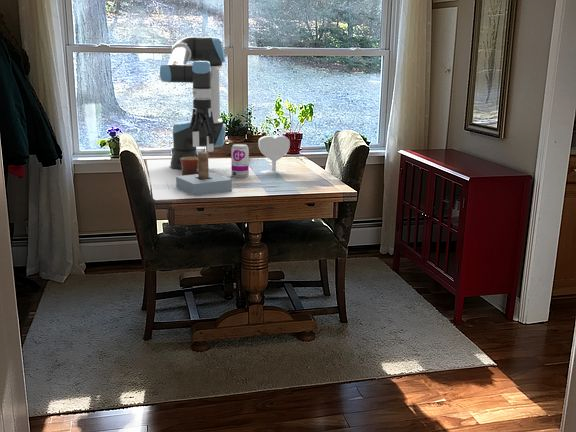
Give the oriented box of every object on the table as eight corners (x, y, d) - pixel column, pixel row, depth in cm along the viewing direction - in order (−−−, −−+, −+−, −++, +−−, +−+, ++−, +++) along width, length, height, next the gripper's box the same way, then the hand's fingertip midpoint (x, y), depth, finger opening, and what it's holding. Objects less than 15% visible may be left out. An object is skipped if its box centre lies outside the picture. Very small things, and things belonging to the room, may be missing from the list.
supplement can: (246, 178, 293) (246, 146, 289) (229, 177, 295) (229, 146, 291) (250, 174, 301) (250, 144, 297) (234, 173, 303) (234, 143, 299)
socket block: (176, 187, 272) (175, 176, 270) (212, 183, 281) (212, 172, 280) (194, 195, 257) (193, 184, 256) (231, 190, 267) (231, 179, 266)
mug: (177, 181, 284) (176, 159, 282) (186, 177, 292) (185, 156, 290) (200, 183, 281) (200, 161, 278) (208, 179, 289) (208, 158, 286)
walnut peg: (196, 188, 270) (196, 152, 266) (205, 187, 272) (205, 151, 268) (201, 190, 266) (200, 154, 262) (210, 189, 269) (209, 153, 264)
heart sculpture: (287, 170, 314) (288, 135, 309) (289, 172, 309) (290, 136, 304) (257, 171, 310) (257, 135, 305) (259, 173, 306) (259, 136, 301)
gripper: (181, 96, 267) (182, 145, 273) (207, 101, 247) (208, 154, 253) (197, 95, 271) (198, 143, 277) (224, 101, 251) (224, 152, 257)
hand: (203, 148), depth 265 cm, fingers open, 13 cm apart
